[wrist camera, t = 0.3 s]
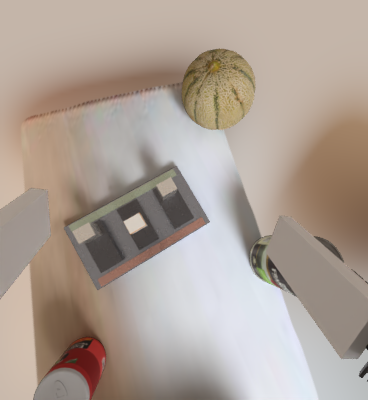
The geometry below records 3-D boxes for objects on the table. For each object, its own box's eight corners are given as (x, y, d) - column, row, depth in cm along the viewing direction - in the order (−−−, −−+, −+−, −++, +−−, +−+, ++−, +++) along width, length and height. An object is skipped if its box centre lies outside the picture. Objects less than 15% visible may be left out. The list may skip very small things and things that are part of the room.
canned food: (92, 326, 43) (69, 358, 33) (115, 362, 43) (99, 405, 32) (57, 353, 42) (20, 395, 31) (80, 389, 42) (51, 445, 31)
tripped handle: (148, 225, 43) (146, 224, 38) (133, 234, 42) (130, 234, 38) (141, 214, 43) (138, 212, 38) (127, 222, 43) (122, 221, 38)
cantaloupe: (251, 125, 53) (286, 83, 38) (198, 151, 51) (212, 118, 36) (221, 73, 54) (243, 13, 39) (167, 97, 52) (169, 43, 37)
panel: (208, 222, 48) (218, 220, 40) (99, 288, 44) (83, 302, 36) (176, 168, 50) (179, 153, 41) (66, 227, 46) (43, 226, 37)
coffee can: (273, 293, 48) (319, 319, 34) (239, 259, 48) (271, 269, 34) (303, 258, 49) (358, 269, 35) (270, 225, 50) (312, 222, 36)
